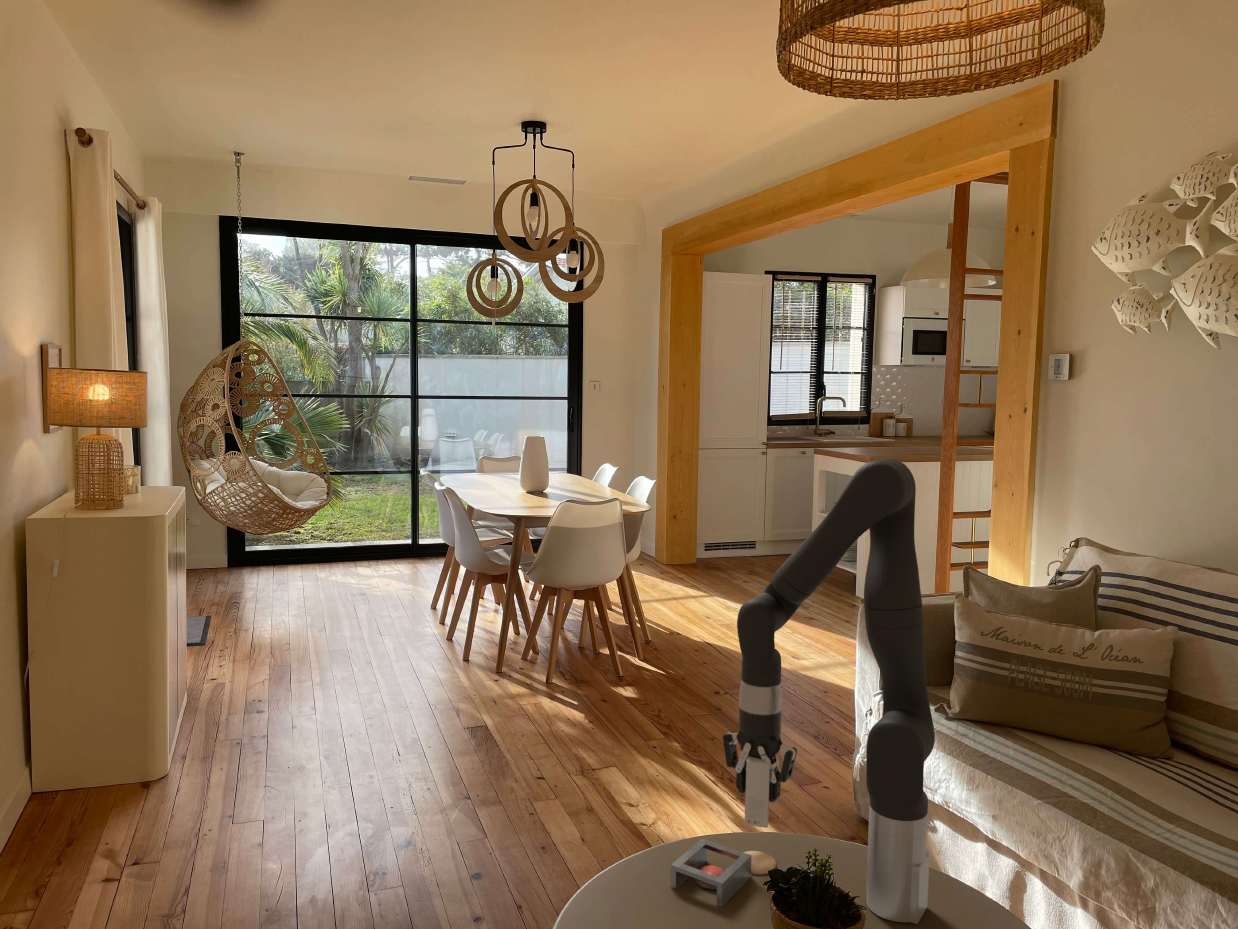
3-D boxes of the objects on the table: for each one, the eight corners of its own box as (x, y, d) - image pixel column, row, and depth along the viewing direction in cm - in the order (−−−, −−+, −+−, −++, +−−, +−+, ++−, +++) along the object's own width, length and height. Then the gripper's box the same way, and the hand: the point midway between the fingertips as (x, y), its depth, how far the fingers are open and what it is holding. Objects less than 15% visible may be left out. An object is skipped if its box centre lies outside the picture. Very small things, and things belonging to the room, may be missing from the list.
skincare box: (768, 828, 156) (770, 764, 154) (744, 826, 156) (745, 761, 155) (769, 812, 161) (771, 750, 160) (746, 810, 162) (748, 747, 161)
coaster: (781, 861, 160) (781, 858, 160) (765, 879, 155) (765, 876, 155) (747, 850, 164) (747, 847, 164) (730, 866, 159) (730, 863, 159)
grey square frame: (751, 876, 155) (751, 855, 155) (721, 906, 146) (722, 883, 146) (701, 859, 161) (702, 838, 161) (670, 887, 152) (671, 864, 152)
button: (733, 878, 154) (733, 870, 154) (717, 893, 150) (718, 885, 150) (705, 868, 158) (705, 860, 157) (689, 882, 153) (689, 874, 153)
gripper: (806, 708, 156) (803, 799, 157) (734, 691, 164) (731, 778, 166) (789, 720, 150) (786, 815, 151) (714, 702, 158) (712, 792, 159)
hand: (757, 795), depth 158 cm, fingers closed on skincare box, 5 cm apart
